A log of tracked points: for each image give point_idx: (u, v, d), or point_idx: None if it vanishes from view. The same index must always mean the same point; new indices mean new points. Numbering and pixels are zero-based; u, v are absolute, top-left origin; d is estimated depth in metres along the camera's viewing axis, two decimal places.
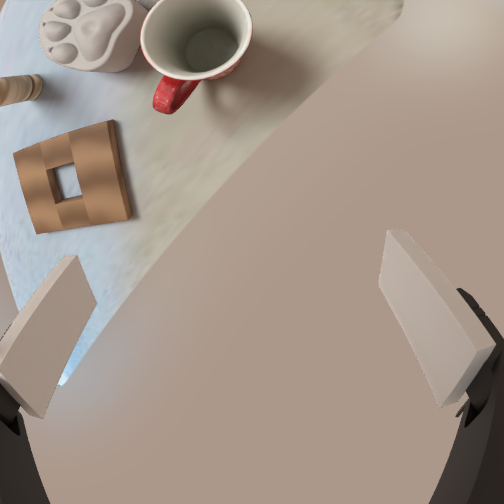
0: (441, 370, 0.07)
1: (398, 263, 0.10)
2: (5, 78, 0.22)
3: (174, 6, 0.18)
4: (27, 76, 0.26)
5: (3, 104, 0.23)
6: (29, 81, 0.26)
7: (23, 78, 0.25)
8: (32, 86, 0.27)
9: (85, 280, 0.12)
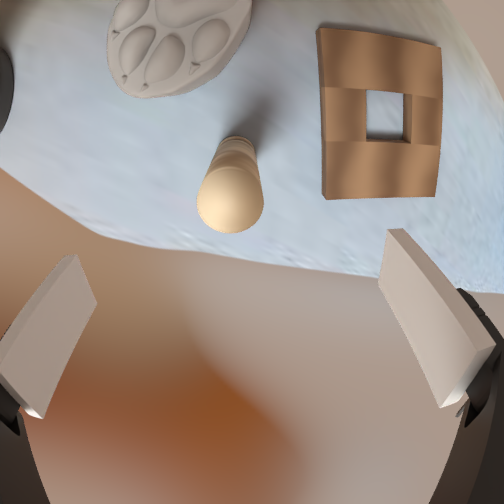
0: (441, 370, 0.07)
1: (398, 263, 0.10)
2: (212, 160, 0.23)
3: None
4: (218, 147, 0.27)
5: (257, 167, 0.23)
6: (228, 142, 0.26)
7: (221, 146, 0.25)
8: (237, 140, 0.27)
9: (85, 280, 0.12)
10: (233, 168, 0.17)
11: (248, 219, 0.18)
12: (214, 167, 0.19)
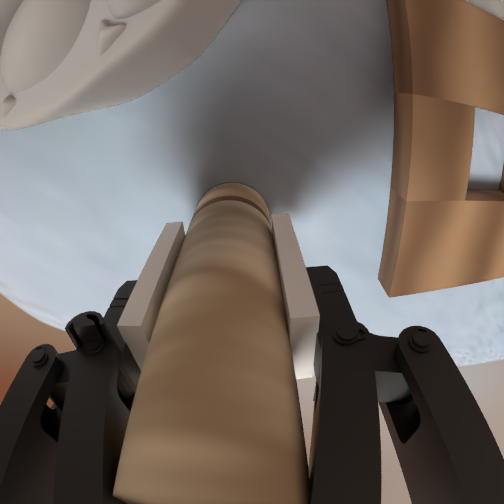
0: None
1: (274, 243, 0.12)
2: (170, 284, 0.09)
3: None
4: (194, 218, 0.13)
5: (283, 301, 0.09)
6: (214, 207, 0.13)
7: (196, 223, 0.12)
8: (234, 200, 0.13)
9: None
10: (213, 461, 0.04)
11: None
12: (153, 394, 0.05)
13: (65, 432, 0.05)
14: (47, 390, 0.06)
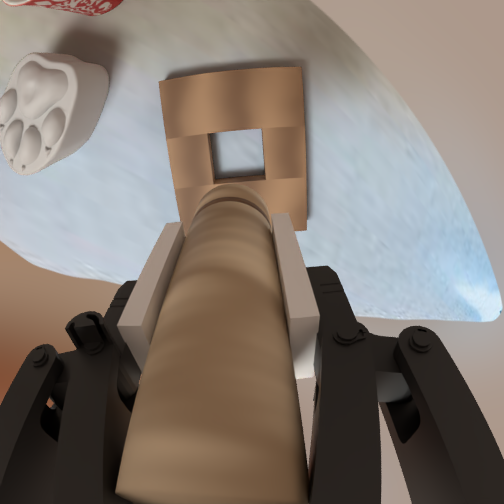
0: None
1: (274, 243, 0.12)
2: (171, 284, 0.09)
3: None
4: (195, 218, 0.13)
5: (282, 301, 0.09)
6: (215, 208, 0.13)
7: (197, 224, 0.12)
8: (234, 201, 0.13)
9: None
10: (214, 458, 0.04)
11: None
12: (155, 393, 0.05)
13: (65, 432, 0.05)
14: (47, 390, 0.06)
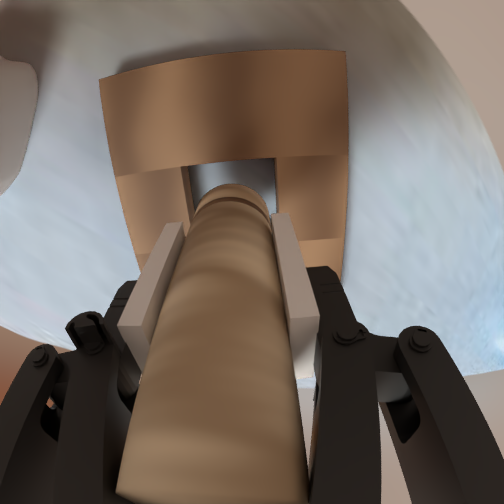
0: None
1: (274, 243, 0.12)
2: (171, 284, 0.09)
3: None
4: (195, 218, 0.13)
5: (282, 301, 0.09)
6: (215, 208, 0.13)
7: (197, 224, 0.12)
8: (234, 201, 0.13)
9: None
10: (214, 458, 0.04)
11: None
12: (155, 393, 0.05)
13: (65, 432, 0.05)
14: (47, 389, 0.06)
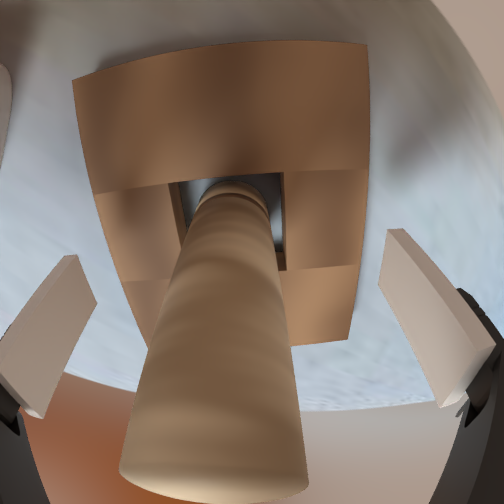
0: (441, 370, 0.07)
1: (398, 263, 0.10)
2: (173, 274, 0.10)
3: None
4: (196, 213, 0.14)
5: (280, 290, 0.10)
6: (215, 203, 0.13)
7: (199, 218, 0.12)
8: (234, 197, 0.14)
9: (85, 280, 0.12)
10: (214, 429, 0.04)
11: (263, 498, 0.05)
12: (159, 371, 0.06)
13: None
14: None
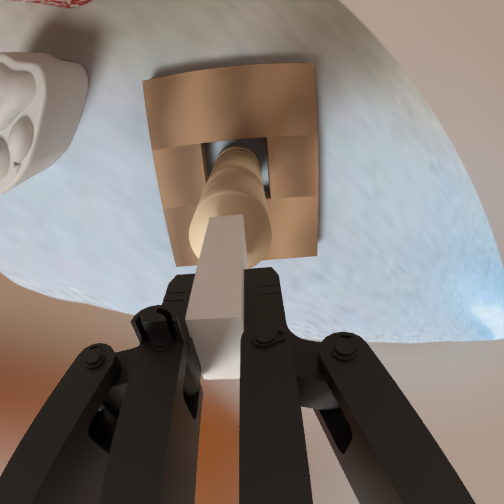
0: None
1: None
2: (210, 176, 0.19)
3: None
4: (217, 159, 0.23)
5: (262, 185, 0.20)
6: (228, 153, 0.23)
7: (220, 159, 0.22)
8: (239, 150, 0.23)
9: None
10: (234, 193, 0.14)
11: (252, 256, 0.15)
12: (210, 190, 0.15)
13: (121, 435, 0.05)
14: (100, 395, 0.06)
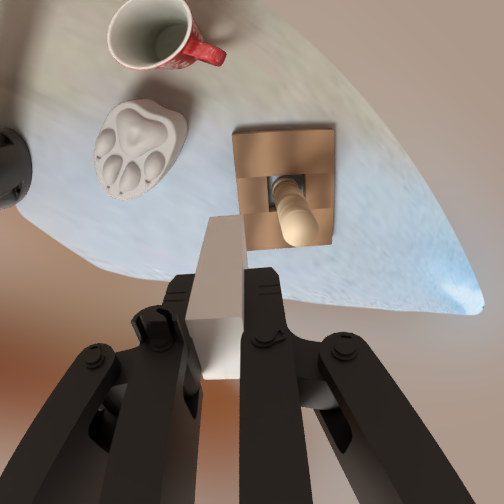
0: None
1: None
2: (280, 199, 0.37)
3: (125, 53, 0.24)
4: (277, 186, 0.41)
5: None
6: (284, 183, 0.40)
7: (280, 187, 0.40)
8: (289, 181, 0.41)
9: None
10: (303, 211, 0.31)
11: (309, 239, 0.32)
12: (289, 208, 0.33)
13: (121, 435, 0.05)
14: (100, 395, 0.06)
